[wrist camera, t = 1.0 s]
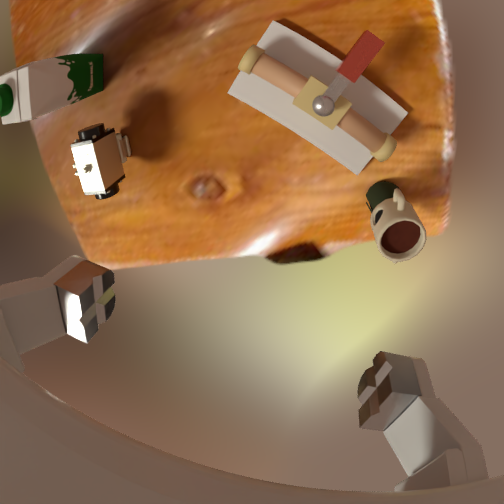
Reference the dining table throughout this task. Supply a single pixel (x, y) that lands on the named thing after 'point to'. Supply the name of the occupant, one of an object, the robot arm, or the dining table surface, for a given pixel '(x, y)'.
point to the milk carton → (49, 85)
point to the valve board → (326, 74)
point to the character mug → (394, 223)
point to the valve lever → (348, 72)
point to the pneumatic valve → (100, 160)
